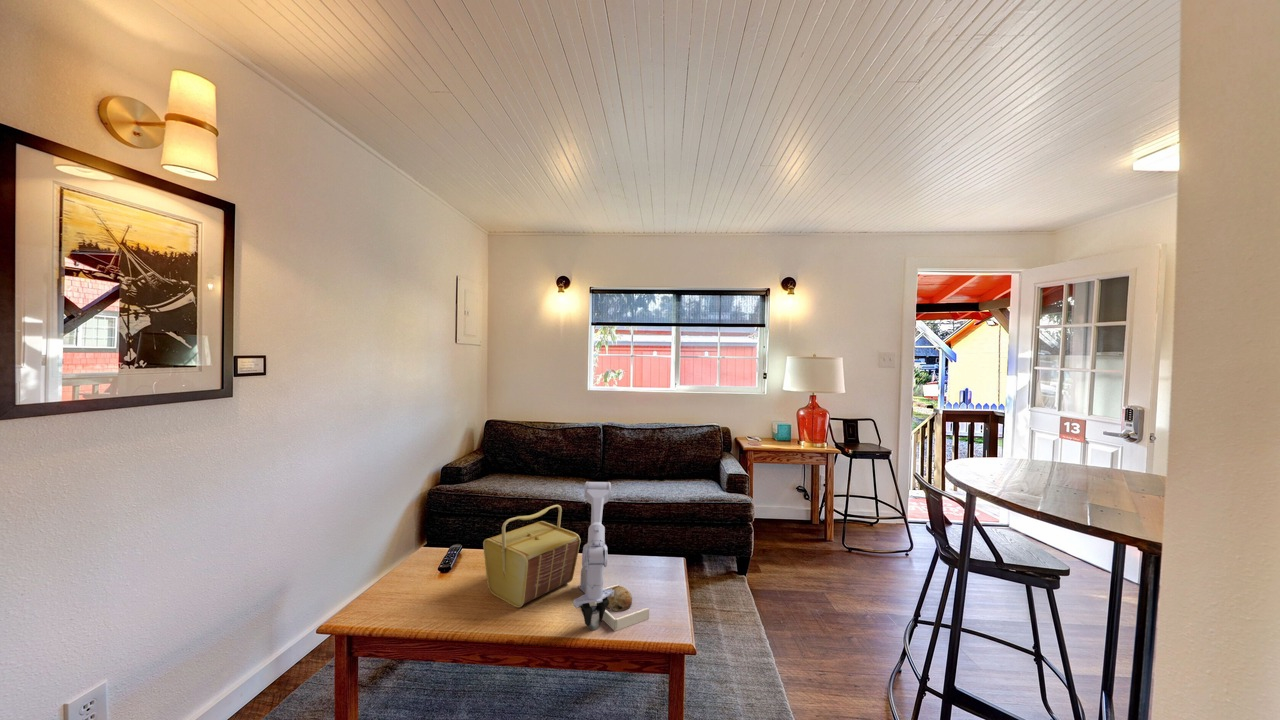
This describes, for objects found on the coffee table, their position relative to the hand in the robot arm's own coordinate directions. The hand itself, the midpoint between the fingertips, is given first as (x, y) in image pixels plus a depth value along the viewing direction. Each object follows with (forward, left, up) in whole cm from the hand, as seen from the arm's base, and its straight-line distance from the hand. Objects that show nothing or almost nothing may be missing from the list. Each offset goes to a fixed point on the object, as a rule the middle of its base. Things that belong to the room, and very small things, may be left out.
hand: (593, 622), depth 152 cm
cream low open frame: (-4, +12, -2) cm, 13 cm away
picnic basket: (-35, -8, -2) cm, 36 cm away
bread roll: (-8, +15, -2) cm, 17 cm away
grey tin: (0, 0, -2) cm, 2 cm away
